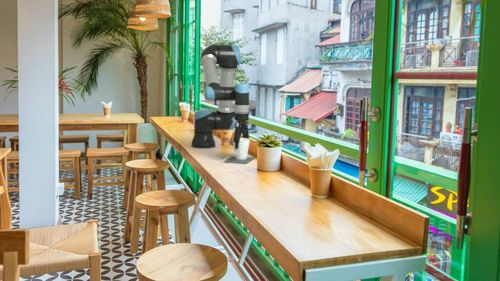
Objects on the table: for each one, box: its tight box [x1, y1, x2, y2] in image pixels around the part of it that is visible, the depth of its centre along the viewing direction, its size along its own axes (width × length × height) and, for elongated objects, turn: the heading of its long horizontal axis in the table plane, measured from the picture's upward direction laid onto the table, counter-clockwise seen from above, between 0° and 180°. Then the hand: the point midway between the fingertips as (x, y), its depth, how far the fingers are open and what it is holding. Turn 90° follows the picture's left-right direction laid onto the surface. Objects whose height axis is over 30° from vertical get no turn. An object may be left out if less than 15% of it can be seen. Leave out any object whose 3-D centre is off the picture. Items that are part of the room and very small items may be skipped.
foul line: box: [220, 154, 235, 163], centre depth 249 cm, size 18×1×1 cm, turn 164°
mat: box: [223, 155, 256, 165], centre depth 246 cm, size 18×12×1 cm, turn 164°
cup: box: [231, 137, 251, 160], centre depth 245 cm, size 10×10×11 cm
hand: (241, 152), depth 245 cm, fingers open, 13 cm apart
